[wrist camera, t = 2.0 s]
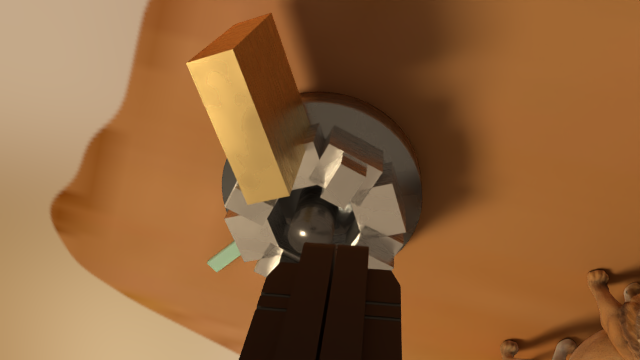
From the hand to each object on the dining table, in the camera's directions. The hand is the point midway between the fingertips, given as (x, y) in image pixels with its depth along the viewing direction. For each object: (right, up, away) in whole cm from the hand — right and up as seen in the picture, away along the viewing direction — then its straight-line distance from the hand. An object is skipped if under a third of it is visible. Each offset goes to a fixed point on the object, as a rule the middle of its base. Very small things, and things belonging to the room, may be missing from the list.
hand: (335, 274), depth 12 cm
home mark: (-7, -3, +24) cm, 25 cm away
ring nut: (-1, +4, +17) cm, 17 cm away
